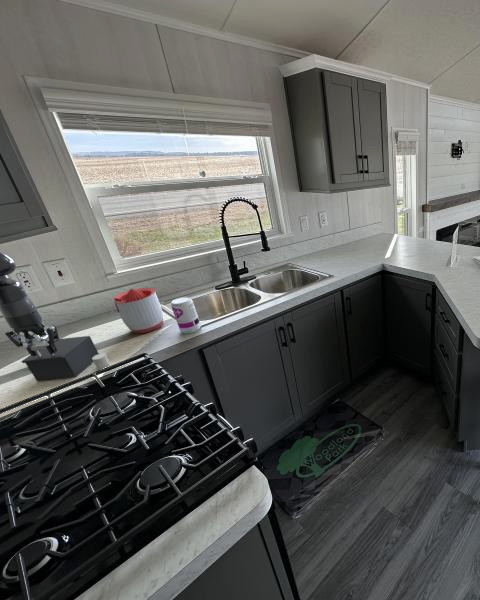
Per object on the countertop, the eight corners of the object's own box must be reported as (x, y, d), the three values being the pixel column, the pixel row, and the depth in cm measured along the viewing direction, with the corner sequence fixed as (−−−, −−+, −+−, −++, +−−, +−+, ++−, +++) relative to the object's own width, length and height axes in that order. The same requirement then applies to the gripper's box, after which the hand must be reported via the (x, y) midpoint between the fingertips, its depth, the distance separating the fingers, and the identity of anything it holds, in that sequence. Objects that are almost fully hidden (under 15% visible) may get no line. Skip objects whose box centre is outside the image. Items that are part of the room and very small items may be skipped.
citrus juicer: (122, 328, 153) (103, 289, 144) (165, 316, 163) (151, 279, 154) (123, 341, 142) (104, 300, 133) (170, 328, 152) (154, 288, 143)
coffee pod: (106, 369, 124) (101, 358, 122) (95, 370, 123) (89, 360, 121) (113, 363, 127) (108, 352, 125) (102, 364, 127) (96, 354, 125)
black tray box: (75, 377, 120) (64, 357, 116) (37, 381, 119) (24, 361, 115) (100, 356, 132) (90, 337, 129) (65, 359, 131) (54, 341, 127)
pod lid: (62, 358, 116) (55, 346, 113) (22, 363, 114) (14, 350, 112) (90, 337, 129) (84, 326, 126) (54, 341, 127) (47, 329, 125)
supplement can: (188, 335, 145) (177, 305, 138) (176, 332, 148) (165, 302, 142) (205, 327, 151) (195, 298, 145) (193, 323, 155) (183, 295, 148)
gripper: (-17, 319, 104) (12, 362, 112) (34, 314, 106) (59, 357, 114) (5, 308, 111) (31, 350, 118) (52, 304, 113) (75, 345, 120)
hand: (45, 353), depth 116 cm, fingers closed on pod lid, 5 cm apart
